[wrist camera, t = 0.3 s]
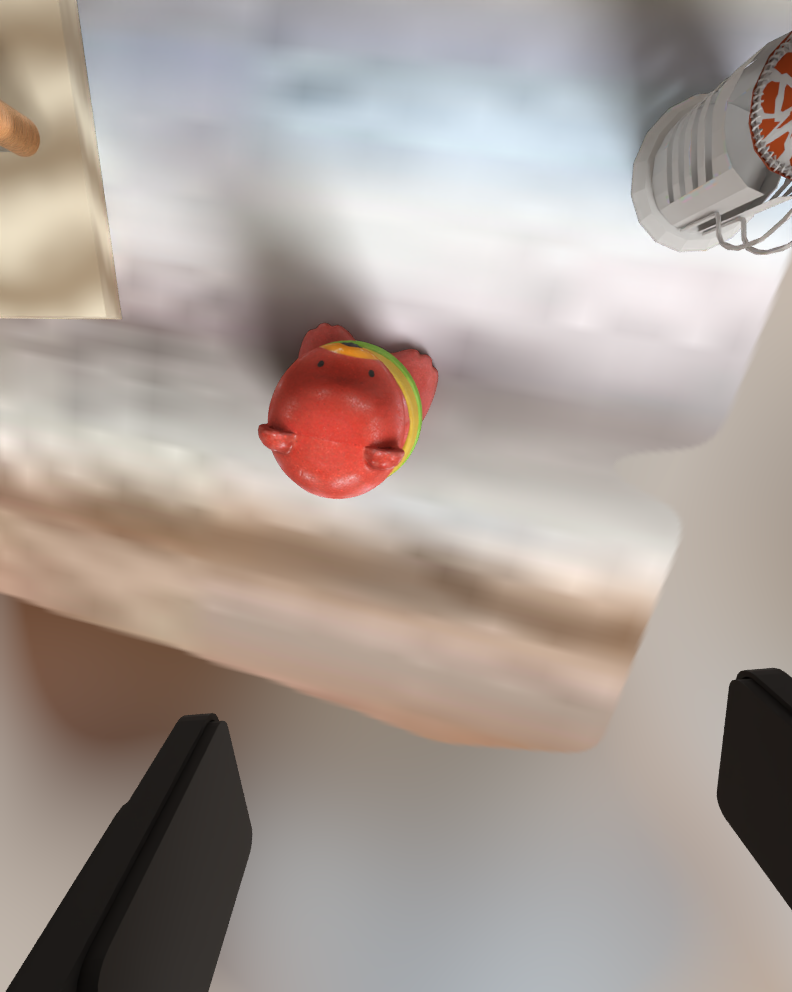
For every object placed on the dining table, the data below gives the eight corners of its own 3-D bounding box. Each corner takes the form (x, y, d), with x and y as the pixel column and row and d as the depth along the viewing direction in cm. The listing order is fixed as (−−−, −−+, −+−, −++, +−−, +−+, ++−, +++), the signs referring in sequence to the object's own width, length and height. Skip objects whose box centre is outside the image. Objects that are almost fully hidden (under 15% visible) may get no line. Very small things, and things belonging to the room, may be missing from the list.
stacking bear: (444, 359, 36) (489, 353, 19) (406, 480, 39) (414, 572, 21) (309, 316, 35) (226, 269, 18) (279, 443, 38) (182, 508, 21)
